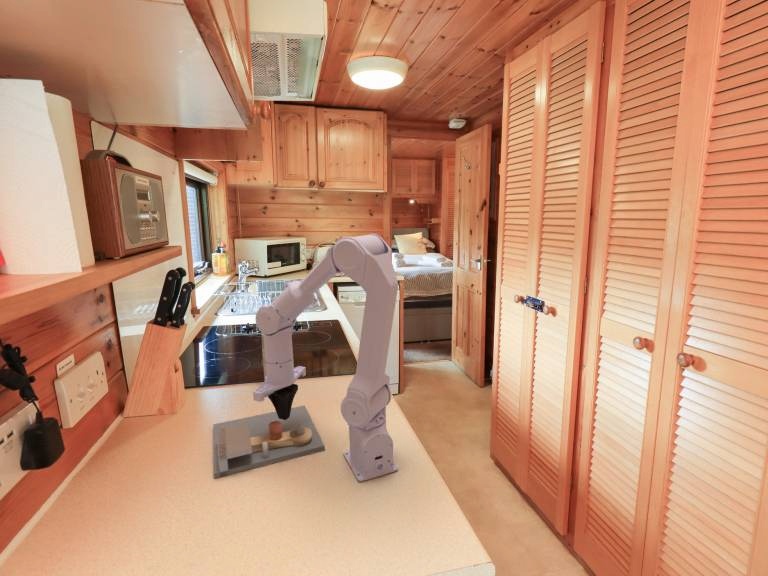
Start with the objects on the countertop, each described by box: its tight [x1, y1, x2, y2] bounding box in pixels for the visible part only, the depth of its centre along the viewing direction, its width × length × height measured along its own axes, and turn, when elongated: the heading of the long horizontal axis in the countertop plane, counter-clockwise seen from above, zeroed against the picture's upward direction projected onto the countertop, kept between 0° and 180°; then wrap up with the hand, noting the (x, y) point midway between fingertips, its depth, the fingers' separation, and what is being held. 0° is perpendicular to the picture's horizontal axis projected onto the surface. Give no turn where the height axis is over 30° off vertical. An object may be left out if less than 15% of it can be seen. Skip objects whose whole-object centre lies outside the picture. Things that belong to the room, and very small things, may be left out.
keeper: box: [217, 423, 252, 477], centre depth 79 cm, size 10×6×4 cm, turn 23°
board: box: [212, 405, 326, 479], centre depth 85 cm, size 19×21×4 cm
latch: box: [250, 421, 312, 452], centre depth 81 cm, size 15×5×4 cm, turn 107°
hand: (284, 417), depth 86 cm, fingers closed
